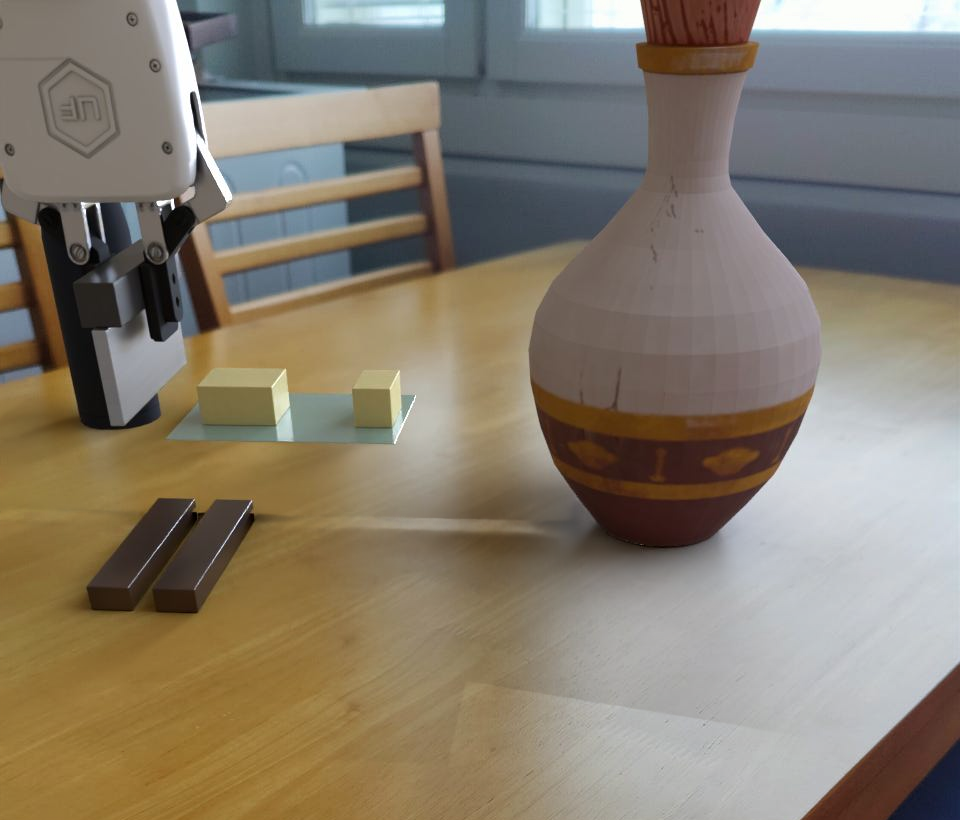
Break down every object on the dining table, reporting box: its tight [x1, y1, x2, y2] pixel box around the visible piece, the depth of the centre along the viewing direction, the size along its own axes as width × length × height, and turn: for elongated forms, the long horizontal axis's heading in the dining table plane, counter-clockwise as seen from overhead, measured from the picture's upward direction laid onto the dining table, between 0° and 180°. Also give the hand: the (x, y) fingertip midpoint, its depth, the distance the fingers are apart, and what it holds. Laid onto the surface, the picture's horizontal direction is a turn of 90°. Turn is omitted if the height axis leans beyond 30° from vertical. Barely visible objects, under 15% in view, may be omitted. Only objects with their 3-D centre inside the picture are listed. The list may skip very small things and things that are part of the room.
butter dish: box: [164, 392, 417, 445], centre depth 98 cm, size 18×12×1 cm, turn 84°
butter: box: [196, 367, 290, 426], centre depth 97 cm, size 6×5×3 cm
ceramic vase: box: [527, 0, 822, 547], centre depth 73 cm, size 20×18×30 cm
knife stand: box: [86, 497, 256, 613], centre depth 77 cm, size 7×14×2 cm, turn 174°
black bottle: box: [40, 203, 162, 431], centre depth 89 cm, size 6×6×30 cm
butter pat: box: [351, 369, 402, 428], centre depth 96 cm, size 3×5×3 cm, turn 175°
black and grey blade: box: [73, 238, 188, 426], centre depth 69 cm, size 12×2×7 cm, turn 174°
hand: (140, 332), depth 69 cm, fingers closed on black and grey blade, 2 cm apart
